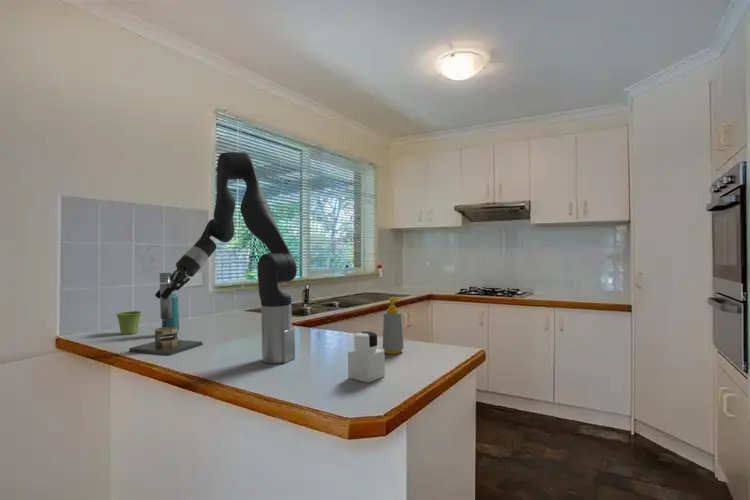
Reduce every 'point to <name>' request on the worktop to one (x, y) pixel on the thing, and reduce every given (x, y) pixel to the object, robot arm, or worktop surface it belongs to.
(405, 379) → the worktop surface
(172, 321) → the beverage bottle
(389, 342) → the soap bottle
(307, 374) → the worktop surface
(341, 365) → the worktop surface
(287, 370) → the worktop surface
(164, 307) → the glossy dome-topped cylinder
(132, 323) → the plant pot
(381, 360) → the medicine bottle
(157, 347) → the dark square plate
